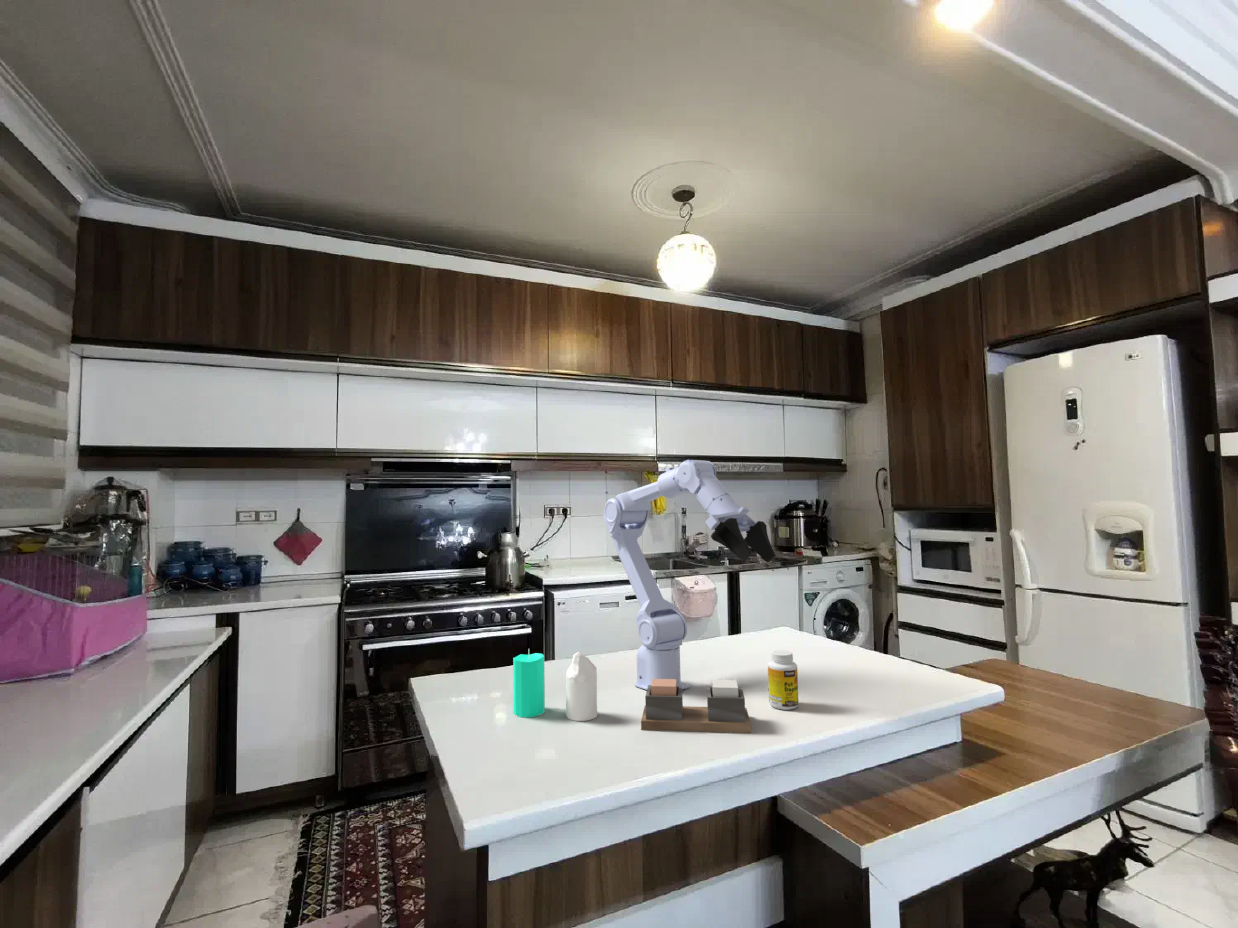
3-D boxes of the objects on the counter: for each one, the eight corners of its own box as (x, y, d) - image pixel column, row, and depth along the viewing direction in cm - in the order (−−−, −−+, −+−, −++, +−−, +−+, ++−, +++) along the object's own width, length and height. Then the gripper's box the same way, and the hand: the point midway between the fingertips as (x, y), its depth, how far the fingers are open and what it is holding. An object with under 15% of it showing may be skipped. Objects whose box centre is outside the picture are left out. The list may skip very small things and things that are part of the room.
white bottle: (598, 648, 111) (593, 655, 105) (599, 711, 110) (594, 722, 104) (568, 647, 112) (562, 654, 106) (569, 710, 111) (562, 721, 105)
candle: (550, 707, 112) (549, 646, 113) (535, 718, 107) (535, 653, 108) (523, 705, 114) (522, 644, 115) (507, 715, 109) (507, 651, 110)
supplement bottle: (785, 713, 107) (783, 657, 108) (763, 704, 112) (761, 651, 113) (805, 706, 110) (802, 652, 111) (782, 699, 115) (780, 647, 116)
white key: (712, 693, 105) (712, 679, 105) (736, 694, 105) (736, 680, 105) (713, 701, 101) (712, 687, 101) (738, 702, 100) (738, 687, 101)
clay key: (653, 692, 107) (652, 678, 107) (676, 692, 106) (676, 679, 106) (651, 700, 102) (651, 685, 103) (676, 700, 102) (675, 686, 102)
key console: (645, 713, 108) (644, 683, 109) (746, 716, 106) (745, 685, 106) (641, 729, 100) (640, 697, 101) (751, 732, 98) (749, 700, 98)
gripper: (708, 486, 105) (750, 540, 97) (753, 494, 115) (795, 545, 106) (686, 512, 108) (725, 568, 100) (732, 519, 118) (771, 569, 109)
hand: (759, 558), depth 103 cm, fingers open, 7 cm apart
